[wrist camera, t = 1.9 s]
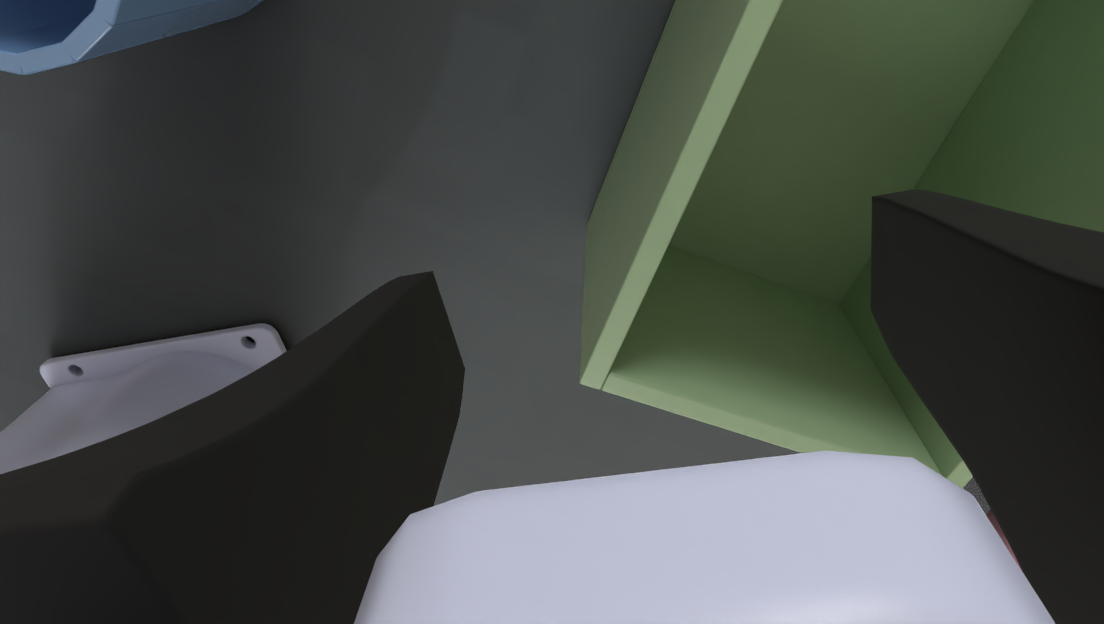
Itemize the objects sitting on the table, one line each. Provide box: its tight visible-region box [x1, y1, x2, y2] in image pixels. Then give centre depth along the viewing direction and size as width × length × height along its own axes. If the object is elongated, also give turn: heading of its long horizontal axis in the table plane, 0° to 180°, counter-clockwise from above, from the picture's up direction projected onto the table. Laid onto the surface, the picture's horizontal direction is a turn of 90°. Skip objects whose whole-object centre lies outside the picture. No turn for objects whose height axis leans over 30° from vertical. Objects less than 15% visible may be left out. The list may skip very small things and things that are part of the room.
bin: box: [579, 0, 1104, 488], centre depth 16 cm, size 9×11×8 cm
